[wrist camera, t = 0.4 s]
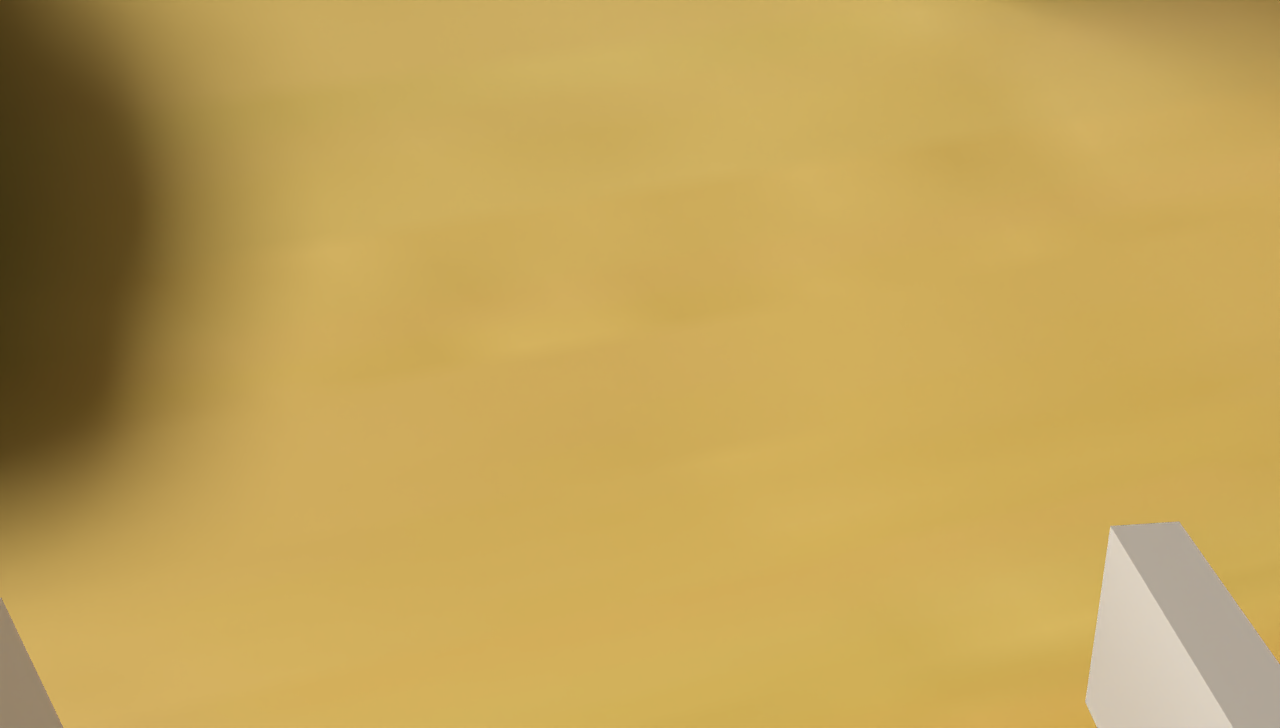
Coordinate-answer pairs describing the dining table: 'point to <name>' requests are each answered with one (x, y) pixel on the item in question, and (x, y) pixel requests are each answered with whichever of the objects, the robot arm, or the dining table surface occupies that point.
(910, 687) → the dining table surface
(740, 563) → the dining table surface
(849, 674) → the dining table surface
